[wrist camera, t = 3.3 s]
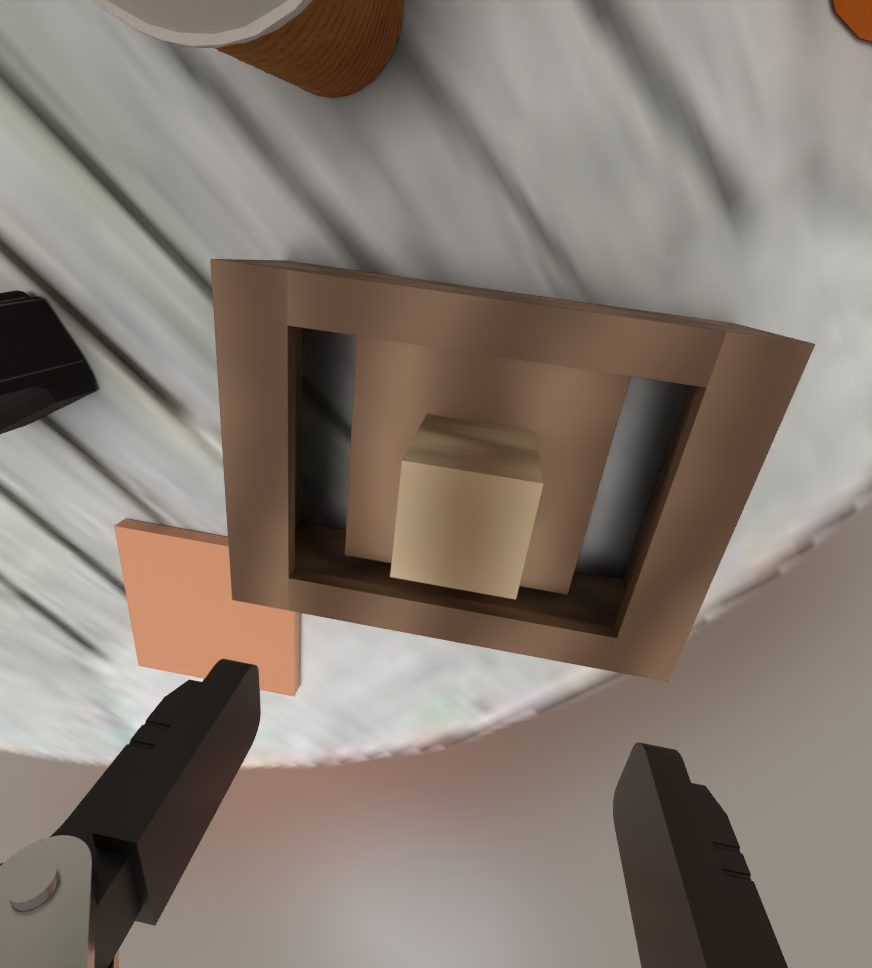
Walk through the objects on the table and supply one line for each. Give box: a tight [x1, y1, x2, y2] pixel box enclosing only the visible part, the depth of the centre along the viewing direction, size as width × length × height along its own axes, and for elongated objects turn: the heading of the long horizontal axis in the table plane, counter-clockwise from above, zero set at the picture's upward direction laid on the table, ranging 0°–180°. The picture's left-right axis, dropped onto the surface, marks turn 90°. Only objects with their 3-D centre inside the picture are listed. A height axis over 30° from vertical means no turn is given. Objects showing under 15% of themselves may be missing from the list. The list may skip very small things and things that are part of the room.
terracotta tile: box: [114, 519, 300, 696], centre depth 34 cm, size 12×12×1 cm
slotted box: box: [211, 259, 815, 682], centre depth 24 cm, size 22×16×7 cm
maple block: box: [390, 414, 543, 600], centre depth 21 cm, size 5×5×6 cm
